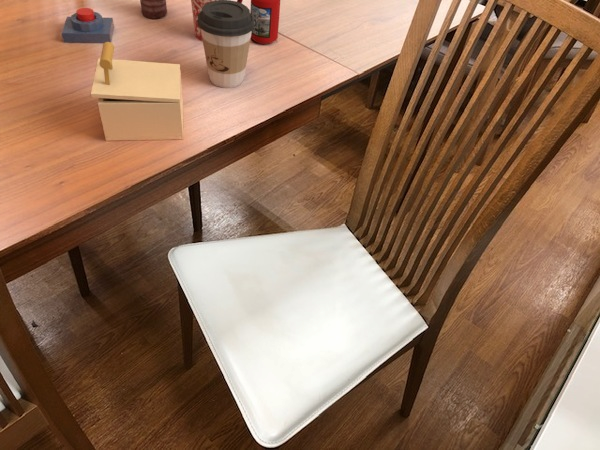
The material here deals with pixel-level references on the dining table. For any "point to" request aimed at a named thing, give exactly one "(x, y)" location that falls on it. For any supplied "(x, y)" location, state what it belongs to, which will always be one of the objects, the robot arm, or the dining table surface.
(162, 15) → the can
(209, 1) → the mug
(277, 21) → the beverage can
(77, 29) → the button box
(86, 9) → the button
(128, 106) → the chest
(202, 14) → the coffee cup
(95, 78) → the lid
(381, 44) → the dining table surface
